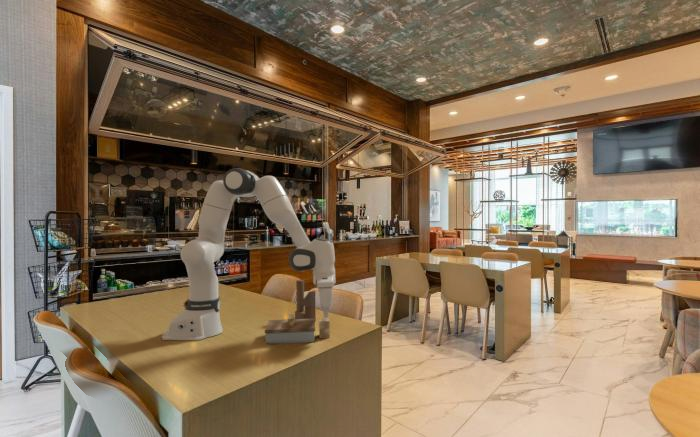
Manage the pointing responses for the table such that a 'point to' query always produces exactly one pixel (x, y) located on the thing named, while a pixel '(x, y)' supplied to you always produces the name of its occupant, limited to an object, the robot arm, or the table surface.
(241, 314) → the table surface
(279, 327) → the lid
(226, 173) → the robot arm
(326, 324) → the beige block
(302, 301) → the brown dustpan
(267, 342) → the grey shallow tray
